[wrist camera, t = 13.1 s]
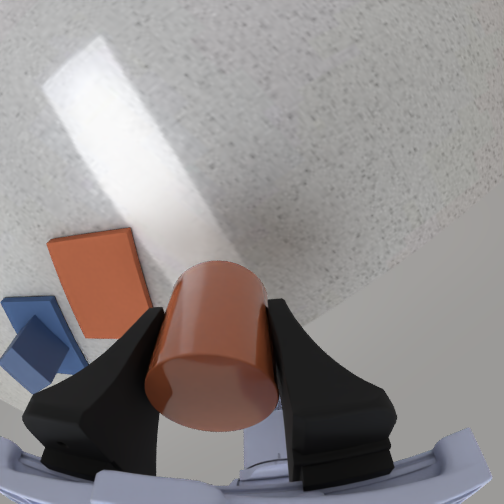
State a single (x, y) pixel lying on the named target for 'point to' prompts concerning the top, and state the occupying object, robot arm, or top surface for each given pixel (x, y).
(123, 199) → the top surface
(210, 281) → the terracotta cylinder
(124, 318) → the terracotta mat
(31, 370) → the blue cube
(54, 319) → the blue mat
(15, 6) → the top surface
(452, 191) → the top surface
